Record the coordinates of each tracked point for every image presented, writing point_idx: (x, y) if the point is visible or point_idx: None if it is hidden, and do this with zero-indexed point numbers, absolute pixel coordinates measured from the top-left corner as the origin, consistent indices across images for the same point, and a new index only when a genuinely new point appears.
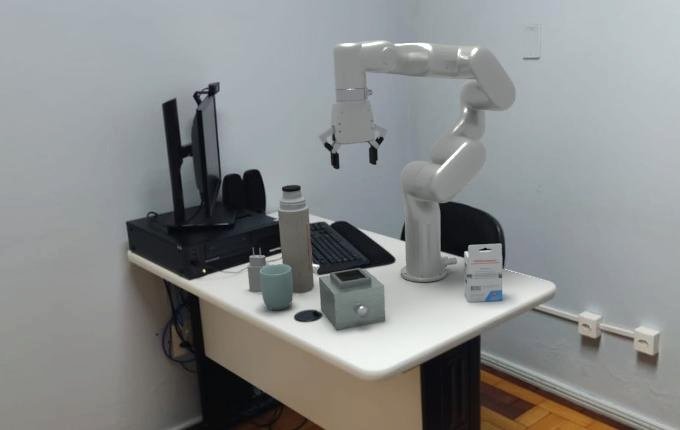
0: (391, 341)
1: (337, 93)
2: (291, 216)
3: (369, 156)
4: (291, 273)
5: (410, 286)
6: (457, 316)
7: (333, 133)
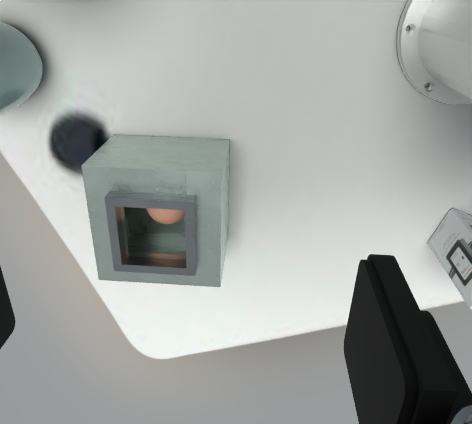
0: (204, 306)
1: None
2: None
3: (374, 311)
4: (4, 100)
5: (377, 99)
6: None
7: None
